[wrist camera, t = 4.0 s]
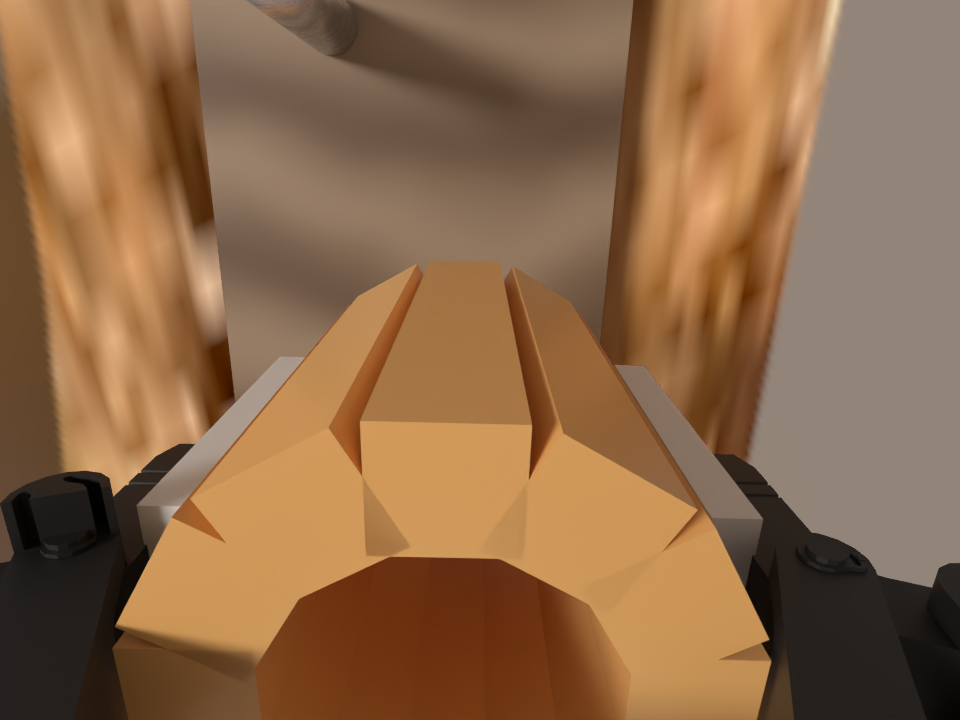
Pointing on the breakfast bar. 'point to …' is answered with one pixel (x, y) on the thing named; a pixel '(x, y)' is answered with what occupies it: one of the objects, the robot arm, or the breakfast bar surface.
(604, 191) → the plate
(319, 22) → the silver metal piece
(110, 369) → the breakfast bar surface
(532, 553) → the collar
